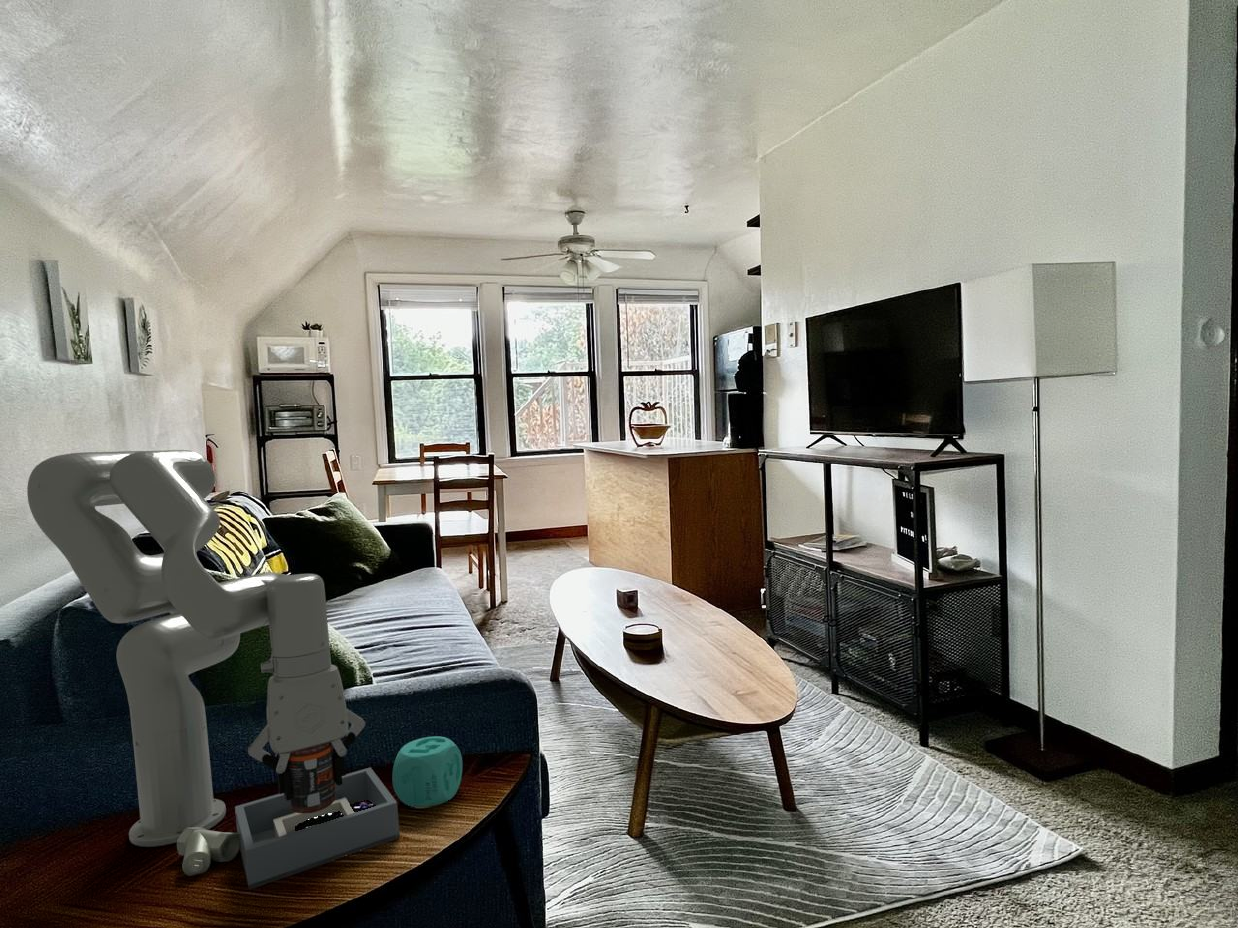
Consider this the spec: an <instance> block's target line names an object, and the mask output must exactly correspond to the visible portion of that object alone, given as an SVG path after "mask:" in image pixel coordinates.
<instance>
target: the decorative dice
mask: <svg viewBox="0 0 1238 928" xmlns="http://www.w3.org/2000/svg"><path fill="white" fill-rule="evenodd" d="M393 763H394V764H393V767H392V780H391V781H392V782H391V783H392V787H393V791H394V793H395V794H396V796H397V797H398V799H399V800H400V801H401V802H402V803H403V804H404V805H405V806H407V805H408V807H409V806H411V807H410V808H412V807H430V806H435V805H438V804H441V805H443V804H445V803H447V802H449V801H450V800H452V799H453V798H454V796H455V795H457V792H458V790H459V787H460V785H461V781H462V775H463V756H462V753H461V750H460V748H459V747H458V746H457V744H455V742H454V741H452V740H451V739H449V738H447V737H445V736H440V735H439V736H437V735H434V736H426V737H425V736H424V737H421V738H418V739H414V740H412V741H409V742H407V743H406V744H404V745H403V746H402V747H401V748H400V750H398V752H397V755H396V757H395V760H394V762H393ZM448 800H449V801H448ZM446 801H447V802H446ZM444 802H445V803H444ZM442 803H443V804H442ZM438 806H439V805H438ZM435 807H436V806H435ZM430 808H431V807H430Z"/></svg>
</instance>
